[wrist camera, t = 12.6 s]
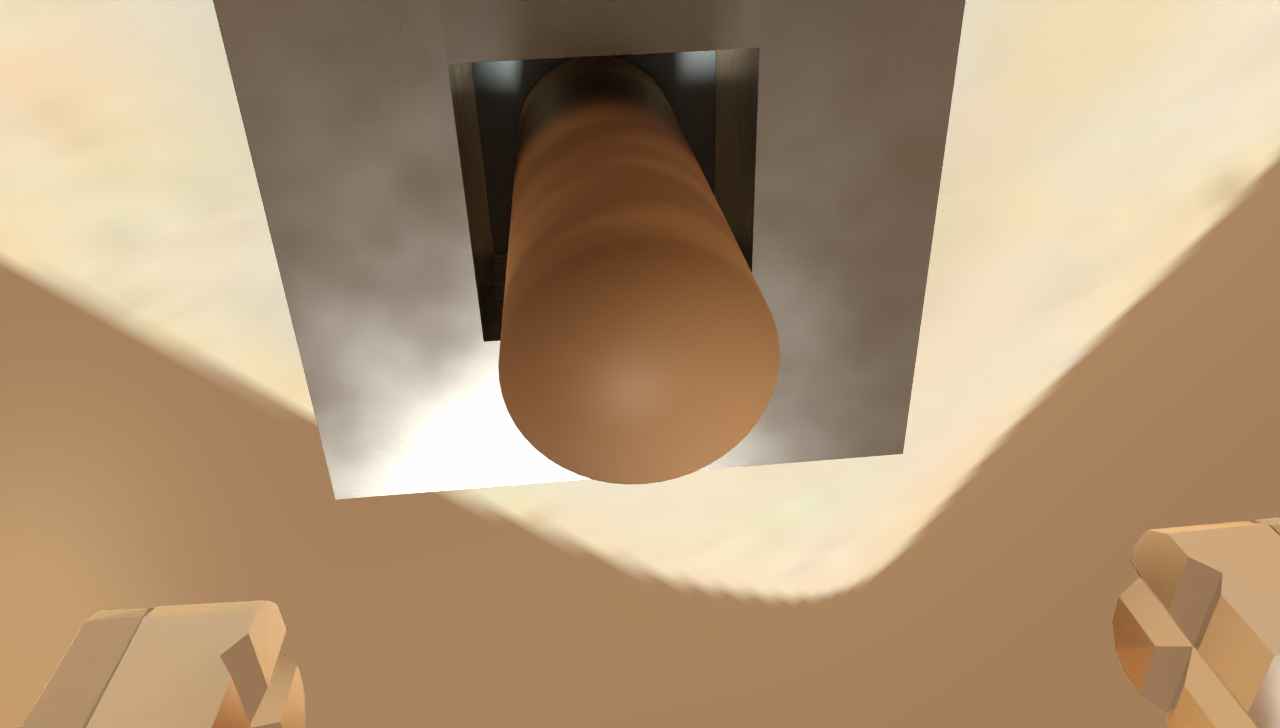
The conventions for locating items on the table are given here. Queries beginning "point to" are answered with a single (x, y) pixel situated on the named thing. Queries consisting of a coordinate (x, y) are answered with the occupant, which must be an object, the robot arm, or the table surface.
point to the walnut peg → (625, 287)
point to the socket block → (475, 277)
